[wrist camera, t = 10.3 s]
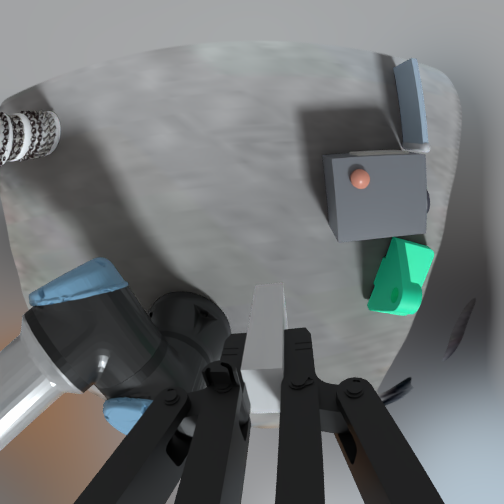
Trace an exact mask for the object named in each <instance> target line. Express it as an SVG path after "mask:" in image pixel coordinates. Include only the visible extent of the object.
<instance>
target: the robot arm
mask: <svg viewBox="0 0 504 504" xmlns="http://www.w3.org/2000/svg"><path fill="white" fill-rule="evenodd" d="M128 285H129V284H128V282H127V281H124V279H123V278H122V277H121V275H120V274H119V272H118V271H117V270H116V268H115V267H114V265H113V264H112V263H111V262H110V261H109V260H108V259H106V258H102V257H98V258H94V259H92V260H90V261H88V262H86V263H84V264H82V265H80V266H78V267H77V268H75V269H73V270H71V271H69V272H67V273H65V274H63V275H62V276H60V277H58V278H56V279H54V280H53V281H51V282H49V283H47V284H46V285H44V286H42V287H40V288H39V289H37V290H35V291H33V292H32V293H30V294H29V303H30V305H31V306H33V307H32V308H31V309H30V310H29V311H27V312H26V313H25V314H24V315H23V316H22V317H23V318H22V329H21V333H20V335H19V336H18V337H16V339H14V340H13V341H12V342H11V343H10V344H9V345H7V346H6V347H5V348H4V349H3V350H2V351H1V352H0V450H2V449H3V448H4V447H5V446H6V445H7V444H8V443H9V442H10V441H11V440H12V439H13V438H15V437H16V436H17V435H18V434H19V433H20V432H21V431H22V430H23V429H24V428H26V427H27V426H28V425H29V424H30V423H31V422H32V421H33V420H34V419H35V418H37V417H38V416H39V415H40V414H41V413H42V412H43V411H44V410H45V409H47V408H48V407H49V406H50V405H51V404H52V403H53V402H54V401H55V400H57V399H58V398H59V397H60V396H61V395H62V394H63V393H66V392H71V393H78V394H83V393H84V392H85V391H86V390H87V389H89V388H90V387H91V386H92V385H93V384H94V385H95V386H96V387H97V388H98V389H99V390H100V392H101V393H102V394H103V395H104V396H105V397H106V398H107V400H106V401H105V403H104V404H103V406H104V408H103V413H104V416H105V418H106V420H107V421H108V422H109V423H110V424H111V425H112V426H113V427H115V428H116V429H117V430H119V431H120V432H122V433H123V434H125V435H127V436H126V437H125V438H124V440H123V441H122V442H121V443H120V445H119V446H118V447H117V449H116V450H115V451H114V453H113V454H112V455H111V456H110V458H109V459H108V460H107V461H106V463H105V464H104V465H103V467H102V468H101V469H100V471H99V472H98V473H97V474H96V476H95V477H94V478H93V479H92V481H91V482H90V483H89V485H88V486H87V487H86V488H85V490H84V491H83V492H82V493H81V495H80V496H79V497H78V499H77V500H76V501H75V502H74V504H165V503H166V501H167V500H168V498H169V496H170V495H171V493H172V492H173V490H174V488H175V487H176V485H177V483H178V482H179V480H180V478H181V480H180V484H179V488H178V491H177V495H176V499H175V503H174V504H241V498H242V491H243V483H244V476H245V468H246V460H247V452H248V444H249V436H250V428H251V420H250V417H249V414H250V408H251V412H252V413H279V412H280V425H279V447H278V465H277V482H276V497H275V504H325V495H324V472H323V455H322V438H321V431H325V432H330V433H334V435H335V437H336V439H337V441H338V443H339V446H340V448H341V451H342V453H343V455H344V457H345V460H346V462H347V464H348V467H349V469H350V471H351V473H352V476H353V478H354V480H355V482H356V485H357V487H358V489H359V492H360V494H361V496H362V499H363V501H364V503H365V504H444V502H443V500H442V499H441V497H440V495H439V493H438V492H437V490H436V488H435V487H434V485H433V483H432V482H431V480H430V478H429V477H428V475H427V473H426V471H425V470H424V468H423V467H422V465H421V463H420V462H419V460H418V458H417V457H416V455H415V453H414V452H413V450H412V448H411V447H410V445H409V444H408V442H407V440H406V439H405V437H404V436H403V434H402V432H401V431H400V429H399V428H398V426H397V424H396V423H395V421H394V420H393V418H392V416H391V415H390V413H389V412H388V410H387V409H386V407H385V405H384V404H383V402H382V401H381V399H380V398H379V396H378V394H377V393H376V391H375V390H374V388H373V387H372V385H371V384H370V383H369V382H368V381H367V380H365V379H362V378H356V377H354V378H348V379H346V380H344V381H342V382H341V383H340V384H339V385H336V384H329V383H326V382H323V381H321V380H320V379H319V378H318V377H317V375H316V373H315V367H314V358H313V349H312V340H311V334H310V332H309V331H308V330H307V329H306V328H295V329H288V325H287V314H286V306H285V297H284V289H283V282H281V283H271V284H261V285H255V290H254V296H253V302H252V308H251V313H250V319H249V325H248V331H247V333H239V334H231V329H230V325H229V322H228V320H227V318H226V316H225V315H224V313H223V312H222V311H221V310H220V309H219V308H218V307H217V306H216V305H215V304H214V303H212V302H211V301H209V300H208V299H206V298H204V297H202V296H199V295H196V294H193V293H188V292H174V293H169V294H166V295H164V296H162V297H161V298H159V299H158V300H157V301H156V302H155V303H154V305H153V306H152V308H151V309H150V311H149V313H148V315H147V313H146V312H145V310H144V309H143V308H142V306H141V305H140V303H139V302H138V300H137V299H136V297H135V296H134V294H133V293H132V291H131V290H130V288H129V287H128ZM206 386H207V387H206Z"/></svg>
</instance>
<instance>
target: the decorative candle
mask: <svg viewBox="0 0 504 504" xmlns="http://www.w3.org/2000/svg"><path fill="white" fill-rule="evenodd" d="M60 134H61V127H60V121H59V119H58V116H57V115H56V114H55V113H54V112H52V111H44V112H42V110H41V111H39V113H37V111H36V110H35V111H32V112H30V111H26V112H24V111H21V112H20V113H16V114H12V115H6V113H3V112H1V113H0V166H2V165H3V164H4V163H5V162H7V161H11V162H12V161H16V160H18V161H19V162H21V161H22V160H27V159H28V158H29V159H35V158H40V157H41V156H46V155H49V154H51V153H52V152H53V151H54V150H55V149H56V147H57V144H58V142H59V140H60Z"/></svg>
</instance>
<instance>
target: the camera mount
mask: <svg viewBox="0 0 504 504" xmlns="http://www.w3.org/2000/svg"><path fill="white" fill-rule="evenodd" d="M433 258H434V252H433V250H431V249H430V248H429V247H428V246H425V245H421V244H418V243H414V242H411V241H407V240H403V239H400V238H396V237H392V240H391V243H390V246H389V249H388V252H387V255H386V257H383V259H382V261H381V264H380V267H379V270H378V272H377V275H376V278H375V280H374V285H375V287H374V289H373V292H372V294H371V297H370V299H369V302H368V304H367V306H368V308H369V310H371V311H377V312H383V313H389V314H396V315H402V316H405V315H407V314H414V313H415V312H416V311H417V310H418V308H419V306H420V304H421V300H422V289H421V287H422V285H423V282H424V280H425V278H426V275H427V273H428V270H429V268H430V265H431V263H432V260H433Z"/></svg>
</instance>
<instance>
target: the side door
mask: <svg viewBox="0 0 504 504" xmlns="http://www.w3.org/2000/svg"><path fill="white" fill-rule="evenodd" d="M394 74H395V80H396V86H397V92H398V99H399V106H400V114H401V123H402V133H403V143H402V147H403V148H404V149H407V150H414V151H420V152H429V151H430V145H429V144H428V133H427V122H426V113H425V105H424V98H423V91H422V85H421V79H420V73H419V68H418V63H417V59H413V58H411V59H409V60H407V61H405V62H403V63H402V64H400V65H398V66H396V67H394Z"/></svg>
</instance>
